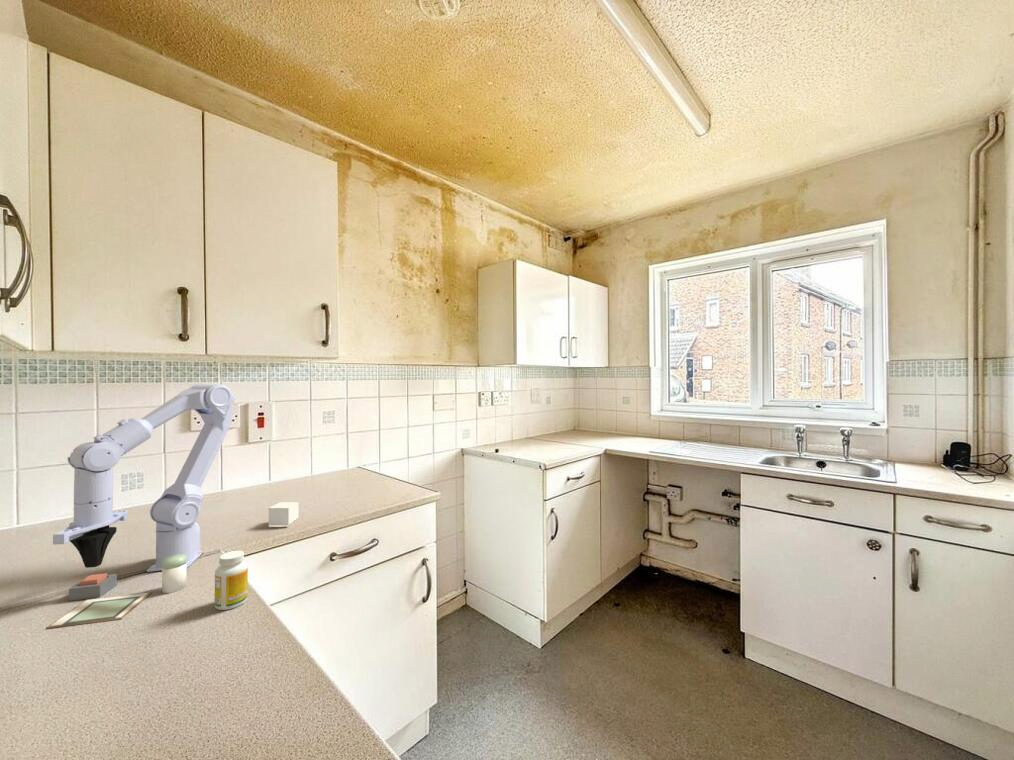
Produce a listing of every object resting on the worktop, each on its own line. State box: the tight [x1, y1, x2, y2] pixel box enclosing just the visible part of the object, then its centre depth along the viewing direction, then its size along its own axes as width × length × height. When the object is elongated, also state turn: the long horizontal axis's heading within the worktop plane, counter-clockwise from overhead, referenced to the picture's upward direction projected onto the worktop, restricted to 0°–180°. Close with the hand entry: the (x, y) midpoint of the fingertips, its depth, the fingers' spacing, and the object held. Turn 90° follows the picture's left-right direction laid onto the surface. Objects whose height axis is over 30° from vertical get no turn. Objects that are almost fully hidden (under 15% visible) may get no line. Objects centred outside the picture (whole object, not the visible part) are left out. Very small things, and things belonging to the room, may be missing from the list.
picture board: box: [45, 591, 153, 630], centre depth 78 cm, size 10×11×1 cm
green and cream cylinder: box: [161, 554, 187, 594], centre depth 86 cm, size 4×4×6 cm
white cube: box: [268, 501, 300, 526], centre depth 125 cm, size 6×6×6 cm
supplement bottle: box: [214, 550, 249, 611], centre depth 80 cm, size 5×5×10 cm
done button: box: [79, 572, 108, 586], centre depth 84 cm, size 3×3×1 cm
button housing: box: [68, 573, 118, 602], centre depth 84 cm, size 5×5×2 cm
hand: (93, 566), depth 84 cm, fingers closed
